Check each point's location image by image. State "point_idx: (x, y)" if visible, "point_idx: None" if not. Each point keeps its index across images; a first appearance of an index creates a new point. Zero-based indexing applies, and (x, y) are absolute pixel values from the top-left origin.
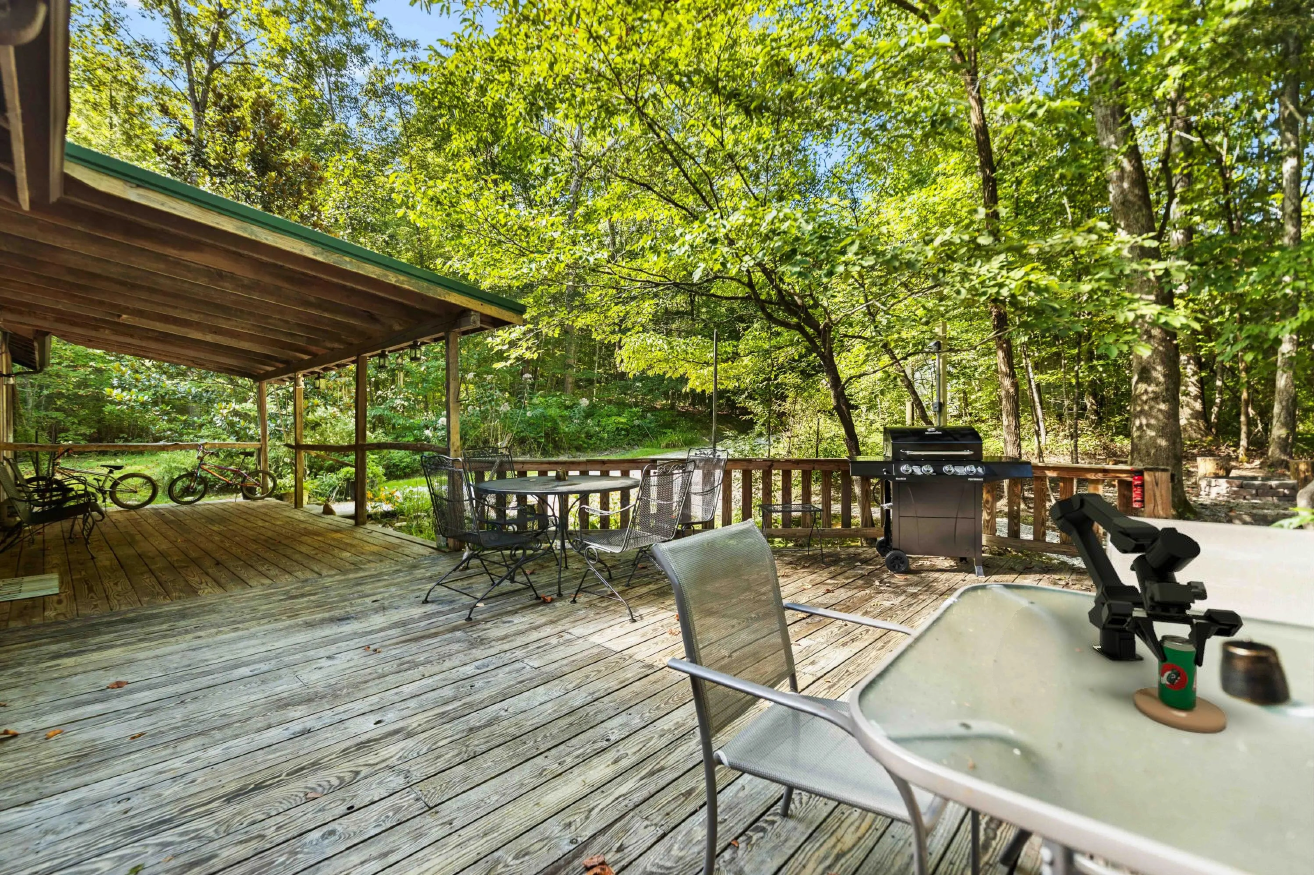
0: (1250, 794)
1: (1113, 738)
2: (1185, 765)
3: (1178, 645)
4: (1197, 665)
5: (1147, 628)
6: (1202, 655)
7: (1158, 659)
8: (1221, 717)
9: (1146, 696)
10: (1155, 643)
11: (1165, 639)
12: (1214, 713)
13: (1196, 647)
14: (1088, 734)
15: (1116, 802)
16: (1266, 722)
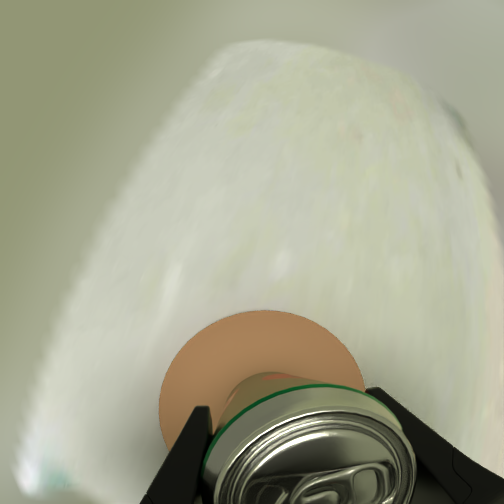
0: (225, 125)
1: (405, 217)
2: (301, 167)
3: (339, 408)
4: (212, 429)
5: (497, 496)
6: (180, 444)
7: None
8: (174, 375)
9: None
10: (430, 441)
11: (396, 475)
12: (185, 394)
13: (198, 491)
14: (437, 217)
15: (383, 78)
16: (80, 425)
